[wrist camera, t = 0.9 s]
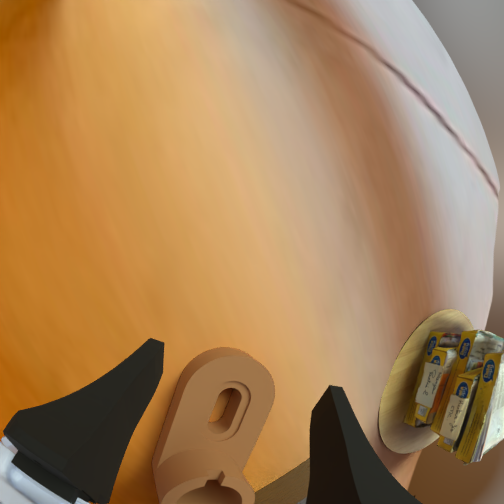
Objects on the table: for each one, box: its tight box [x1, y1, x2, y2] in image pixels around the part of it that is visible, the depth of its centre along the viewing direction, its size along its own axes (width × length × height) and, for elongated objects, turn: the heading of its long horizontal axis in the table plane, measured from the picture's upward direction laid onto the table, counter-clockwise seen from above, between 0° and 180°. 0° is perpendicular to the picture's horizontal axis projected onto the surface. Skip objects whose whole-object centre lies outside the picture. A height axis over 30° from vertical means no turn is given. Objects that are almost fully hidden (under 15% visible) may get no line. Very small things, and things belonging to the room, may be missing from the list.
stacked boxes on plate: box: [379, 309, 504, 465], centre depth 30 cm, size 25×25×17 cm
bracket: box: [152, 347, 275, 504], centre depth 21 cm, size 18×8×7 cm, turn 158°
